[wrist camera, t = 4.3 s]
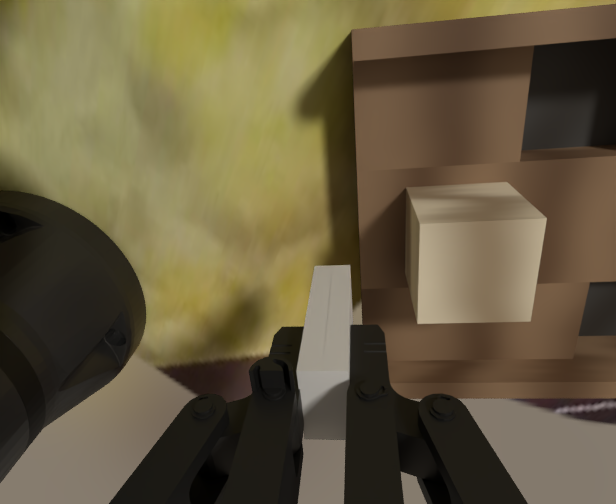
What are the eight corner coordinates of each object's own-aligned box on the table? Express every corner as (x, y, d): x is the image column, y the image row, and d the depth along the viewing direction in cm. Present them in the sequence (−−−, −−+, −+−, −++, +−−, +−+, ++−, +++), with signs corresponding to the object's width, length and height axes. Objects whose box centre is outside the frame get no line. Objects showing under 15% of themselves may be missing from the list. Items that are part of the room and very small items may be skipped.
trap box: (363, 351, 31) (365, 398, 27) (351, 31, 22) (351, 29, 18) (744, 345, 28) (811, 397, 24) (899, -22, 19) (1045, -38, 15)
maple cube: (405, 272, 25) (417, 323, 20) (406, 187, 23) (420, 224, 18) (497, 269, 24) (530, 321, 20) (507, 181, 22) (546, 218, 18)
